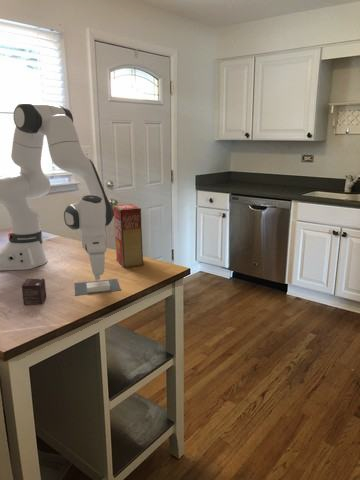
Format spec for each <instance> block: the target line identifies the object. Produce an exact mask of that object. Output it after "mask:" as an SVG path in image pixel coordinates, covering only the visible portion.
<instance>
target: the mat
mask: <svg viewBox="0 0 360 480" xmlns="http://www.w3.org/2000/svg"><path fill="white" fill-rule="evenodd" d="M100 281H109V284H110V290H107V291H98V292H89V293H87V286H86V283H91V282H100ZM120 291H122V289H121V286H120V283H119V281H118V278H111V279H102V280H93V281H82V282H74V294H75V295H74V296H75V297H76V296H85V295H93V294H102V293H110V292H111V293H112V292H120Z"/></svg>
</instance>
